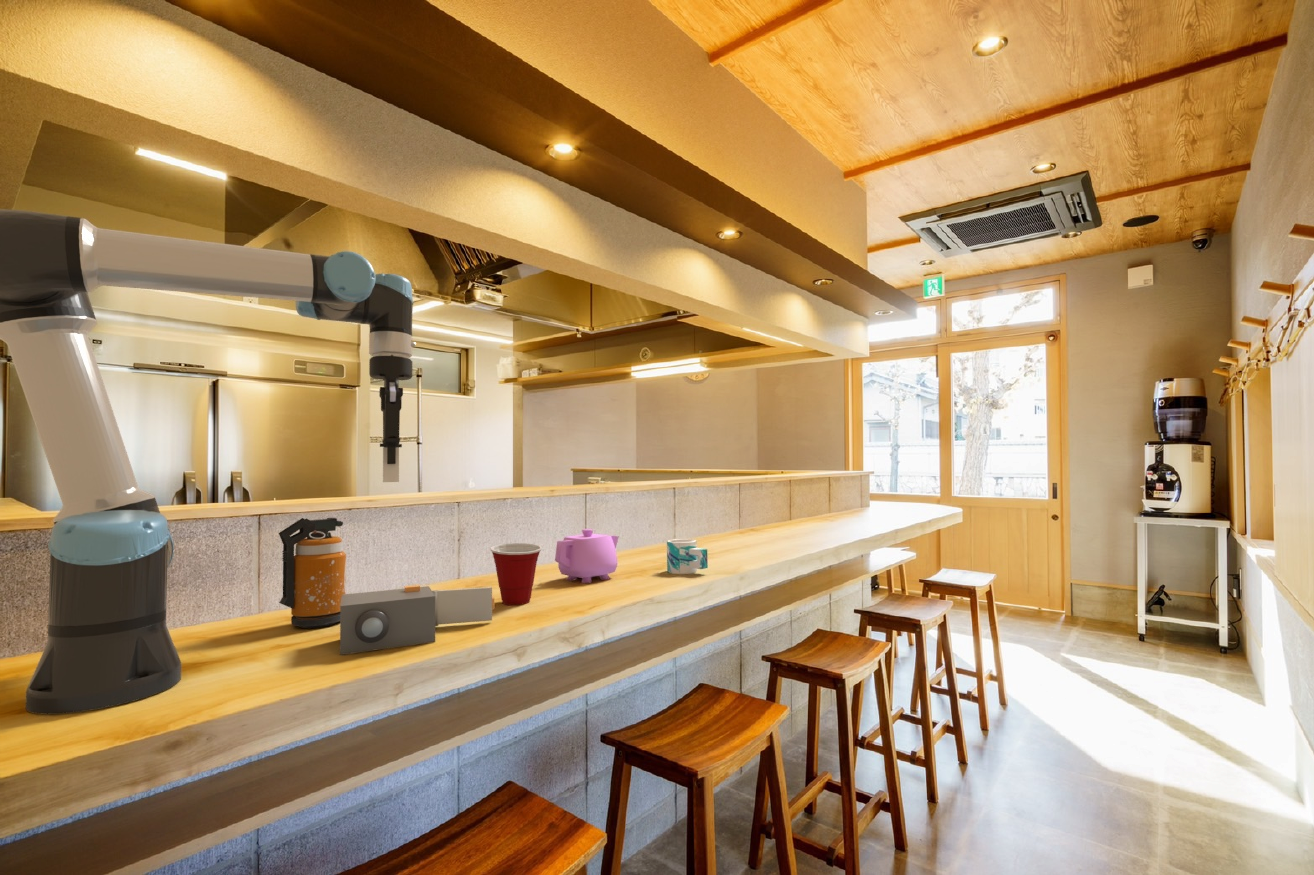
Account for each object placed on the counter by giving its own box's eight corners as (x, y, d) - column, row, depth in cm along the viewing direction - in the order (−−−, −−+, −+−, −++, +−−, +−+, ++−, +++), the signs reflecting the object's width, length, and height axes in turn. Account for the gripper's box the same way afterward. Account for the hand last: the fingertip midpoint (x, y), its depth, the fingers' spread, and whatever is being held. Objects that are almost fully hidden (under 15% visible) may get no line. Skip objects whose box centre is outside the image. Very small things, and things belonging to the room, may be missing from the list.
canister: (353, 622, 115) (353, 516, 116) (287, 635, 107) (288, 520, 108) (335, 615, 121) (336, 514, 122) (271, 626, 113) (273, 518, 114)
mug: (682, 568, 171) (682, 537, 171) (714, 572, 162) (714, 541, 162) (661, 571, 165) (660, 540, 165) (693, 577, 156) (692, 544, 157)
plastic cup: (504, 610, 122) (504, 550, 123) (482, 602, 131) (481, 546, 131) (552, 602, 129) (551, 545, 130) (527, 595, 138) (527, 541, 138)
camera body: (339, 658, 93) (340, 603, 94) (341, 639, 104) (341, 589, 104) (437, 644, 99) (437, 593, 100) (429, 628, 110) (429, 581, 110)
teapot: (573, 587, 145) (572, 534, 146) (542, 581, 154) (542, 531, 154) (634, 576, 159) (633, 527, 160) (602, 571, 168) (602, 524, 169)
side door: (494, 621, 113) (494, 587, 113) (431, 626, 110) (431, 591, 110) (494, 619, 114) (494, 586, 114) (432, 624, 111) (432, 590, 112)
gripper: (415, 353, 112) (415, 481, 111) (409, 364, 124) (409, 481, 122) (370, 350, 109) (369, 483, 107) (368, 362, 120) (368, 482, 119)
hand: (390, 481), depth 115 cm, fingers closed
